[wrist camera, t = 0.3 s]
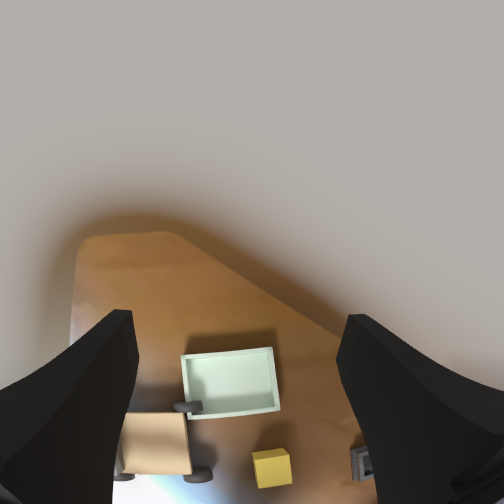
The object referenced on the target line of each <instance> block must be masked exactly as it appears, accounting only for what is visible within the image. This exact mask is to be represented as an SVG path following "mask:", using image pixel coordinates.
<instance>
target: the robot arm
mask: <svg viewBox="0 0 504 504" xmlns="http://www.w3.org/2000/svg"><path fill="white" fill-rule="evenodd" d="M336 362H337V366H338V370H339V374H340V378H341V382H342V385H343V387H344V390H345V392H346V395H347V397H348V399H349V402H350V404H351V407H352V409H353V411H354V414H355V416H356V419H357V421H358V423H359V426H360V428H361V431H362V433H363V436H364V439H365V442H366V446H367V450H368V453H369V457H370V461H371V466H372V470H373V475H374V480H375V485H376V491H377V498H378V504H504V391H501V390H497V389H494V388H491V387H488V386H485V385H482V384H480V383H478V382H475V381H472V380H470V379H468V378H465V377H463V376H461V375H459V374H457V373H455V372H453V371H451V370H449V369H447V368H445V367H444V366H442V365H440V364H438V363H436V362H435V361H433V360H432V359H430V358H428V357H427V356H425V355H423V354H422V353H420V352H419V351H417V350H416V349H414V348H413V347H411V346H410V345H409V344H407V343H406V342H404V341H403V340H402V339H400V338H399V337H397V336H396V335H395V334H393V333H392V332H390V331H389V330H388V329H386V328H385V327H383V326H382V325H381V324H379V323H378V322H376V321H375V320H373V319H372V318H370V317H369V316H367V315H365V314H353V315H348V319H347V323H346V327H345V330H344V334H343V337H342V341H341V344H340V347H339V351H338V354H337V357H336ZM138 364H139V353H138V347H137V341H136V335H135V329H134V323H133V316H132V311H131V310H118V309H114V310H113V311H112V312H110V313H109V314H108V315H107V316H105V317H104V318H103V319H102V320H101V321H100V322H98V323H97V324H96V325H95V326H94V327H93V328H92V329H90V330H89V331H88V332H87V333H86V334H84V335H83V336H82V337H81V338H80V339H79V340H77V341H76V342H75V343H74V344H72V345H71V346H70V347H69V348H67V349H66V350H65V351H64V352H62V353H61V354H59V355H58V356H57V357H56V358H54V359H53V360H52V361H50V362H49V363H47V364H46V365H44V366H43V367H41V368H39V369H38V370H37V371H35V372H33V373H32V374H30V375H28V376H27V377H25V378H23V379H21V380H19V381H17V382H15V383H13V384H11V385H9V386H7V387H6V388H4V389H2V390H0V504H112V495H113V481H114V470H115V462H116V454H117V447H118V442H119V438H120V434H121V430H122V426H123V423H124V419H125V416H126V413H127V409H128V406H129V402H130V399H131V396H132V392H133V389H134V385H135V381H136V376H137V370H138Z"/></svg>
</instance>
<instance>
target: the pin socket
mask: <svg viewBox="0 0 504 504" xmlns="http://www.w3.org/2000/svg"><path fill="white" fill-rule="evenodd" d="M366 455H369V453H368V450H367V446H366V445H363V446H360V447H356V448H353V449H350V456H351V467H352V479H353V481H356V480H359V481H360V482H361V481H364V480H367V479H370V478H373V477H374V475H373V471H371V470H369V469H367V468H365V467H364V465H363V458H364V457H365V456H366Z"/></svg>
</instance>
